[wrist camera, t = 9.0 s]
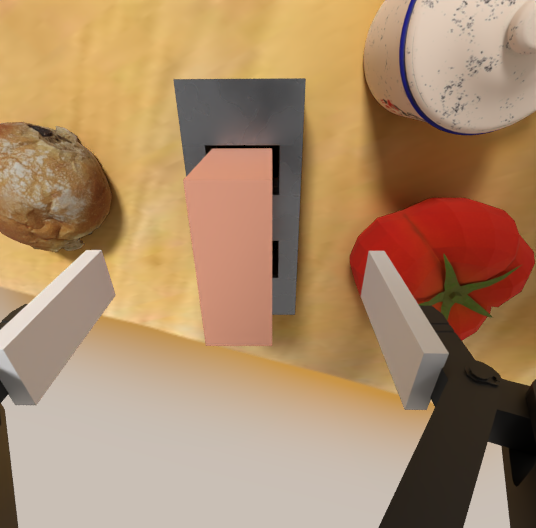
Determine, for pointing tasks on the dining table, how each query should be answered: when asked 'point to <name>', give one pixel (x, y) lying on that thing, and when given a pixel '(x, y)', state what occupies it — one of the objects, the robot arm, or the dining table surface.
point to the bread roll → (49, 187)
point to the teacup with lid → (454, 62)
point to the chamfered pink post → (233, 244)
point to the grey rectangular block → (253, 133)
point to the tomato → (451, 257)
